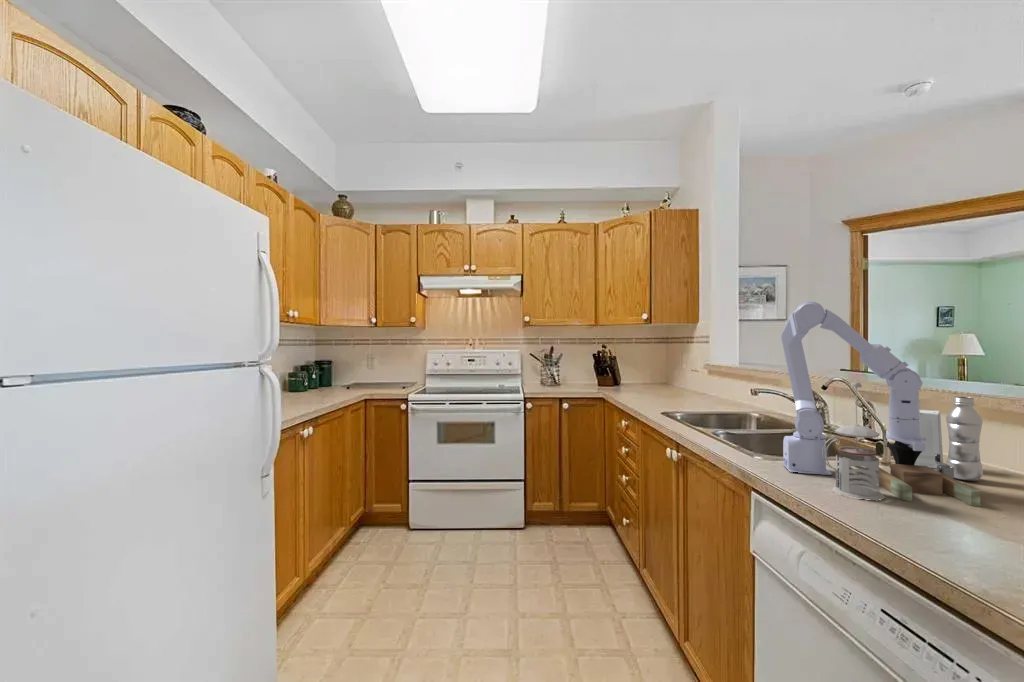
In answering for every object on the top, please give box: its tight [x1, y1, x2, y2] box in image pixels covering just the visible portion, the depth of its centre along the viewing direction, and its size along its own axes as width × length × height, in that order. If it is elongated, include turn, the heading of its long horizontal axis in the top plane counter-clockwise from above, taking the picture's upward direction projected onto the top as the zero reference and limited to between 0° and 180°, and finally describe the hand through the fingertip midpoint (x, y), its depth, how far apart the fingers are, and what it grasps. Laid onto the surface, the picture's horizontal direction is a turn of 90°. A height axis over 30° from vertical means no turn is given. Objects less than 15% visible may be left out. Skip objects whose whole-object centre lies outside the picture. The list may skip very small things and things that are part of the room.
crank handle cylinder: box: [935, 454, 955, 479], centre depth 112 cm, size 3×5×6 cm, turn 162°
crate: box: [889, 463, 944, 495], centre depth 108 cm, size 7×7×4 cm
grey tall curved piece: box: [822, 381, 886, 500], centre depth 105 cm, size 10×12×25 cm
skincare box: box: [914, 409, 944, 470], centre depth 128 cm, size 8×6×15 cm
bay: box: [879, 467, 981, 507], centre depth 107 cm, size 13×18×3 cm
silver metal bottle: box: [945, 396, 984, 482], centre depth 114 cm, size 6×7×20 cm
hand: (904, 474), depth 113 cm, fingers closed
